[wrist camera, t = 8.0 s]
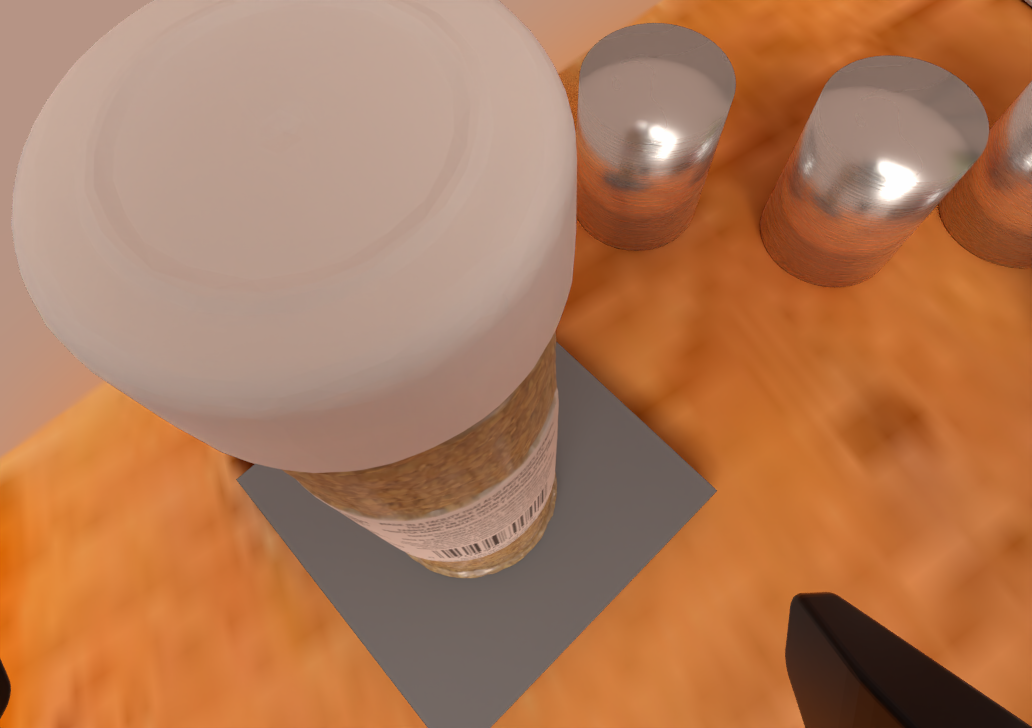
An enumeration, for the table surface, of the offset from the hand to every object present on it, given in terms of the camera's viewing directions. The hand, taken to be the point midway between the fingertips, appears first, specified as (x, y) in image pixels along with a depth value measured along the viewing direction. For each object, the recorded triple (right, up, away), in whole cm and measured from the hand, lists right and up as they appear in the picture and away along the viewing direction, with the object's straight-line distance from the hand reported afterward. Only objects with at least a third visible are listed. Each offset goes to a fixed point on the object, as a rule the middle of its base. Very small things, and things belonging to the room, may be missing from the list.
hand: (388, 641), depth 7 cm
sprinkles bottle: (0, 0, +10) cm, 10 cm away
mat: (0, 0, +11) cm, 11 cm away
